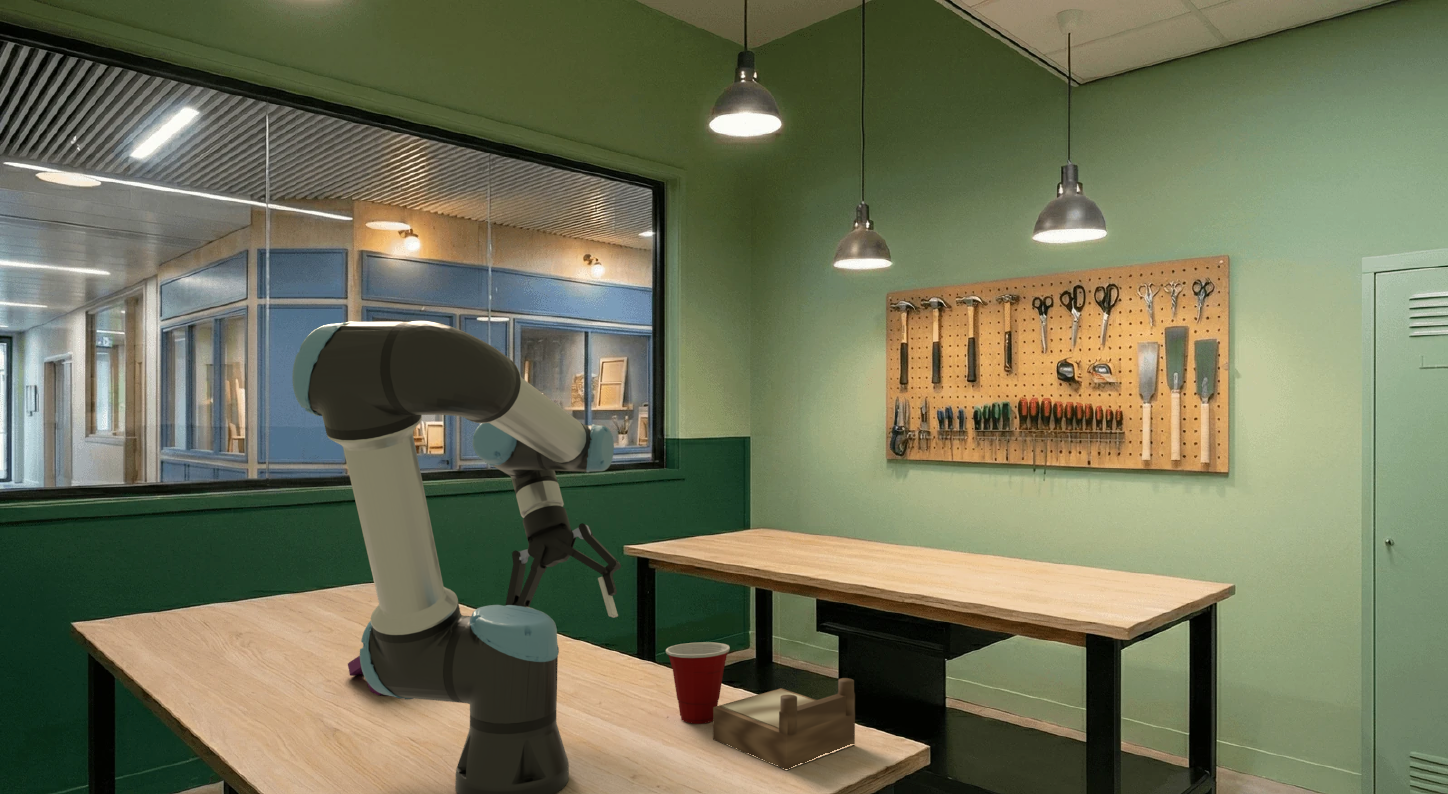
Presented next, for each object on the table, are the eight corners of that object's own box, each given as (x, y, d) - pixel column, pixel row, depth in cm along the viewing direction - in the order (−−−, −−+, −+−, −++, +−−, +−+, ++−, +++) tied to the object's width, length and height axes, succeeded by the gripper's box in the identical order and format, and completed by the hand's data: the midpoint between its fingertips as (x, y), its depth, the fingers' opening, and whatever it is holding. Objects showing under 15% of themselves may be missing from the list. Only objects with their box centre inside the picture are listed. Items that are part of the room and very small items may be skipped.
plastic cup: (704, 703, 156) (705, 634, 156) (742, 720, 147) (743, 648, 147) (652, 715, 149) (653, 643, 150) (688, 734, 141) (689, 658, 141)
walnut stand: (713, 739, 139) (713, 675, 139) (781, 718, 148) (781, 658, 149) (788, 771, 126) (788, 701, 126) (856, 746, 136) (857, 680, 136)
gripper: (616, 490, 156) (651, 606, 147) (488, 543, 157) (516, 660, 149) (601, 480, 149) (638, 600, 140) (468, 535, 151) (496, 657, 142)
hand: (575, 631), depth 145 cm, fingers open, 13 cm apart
